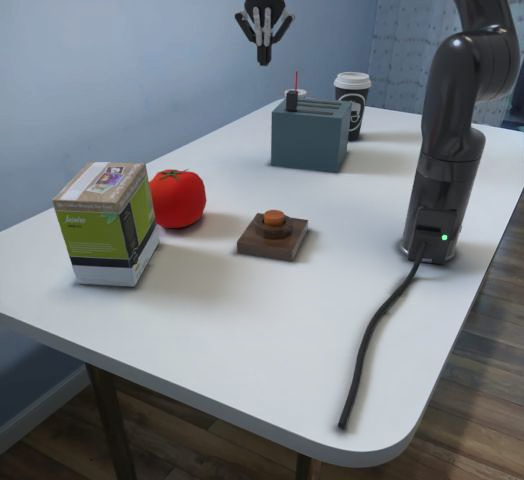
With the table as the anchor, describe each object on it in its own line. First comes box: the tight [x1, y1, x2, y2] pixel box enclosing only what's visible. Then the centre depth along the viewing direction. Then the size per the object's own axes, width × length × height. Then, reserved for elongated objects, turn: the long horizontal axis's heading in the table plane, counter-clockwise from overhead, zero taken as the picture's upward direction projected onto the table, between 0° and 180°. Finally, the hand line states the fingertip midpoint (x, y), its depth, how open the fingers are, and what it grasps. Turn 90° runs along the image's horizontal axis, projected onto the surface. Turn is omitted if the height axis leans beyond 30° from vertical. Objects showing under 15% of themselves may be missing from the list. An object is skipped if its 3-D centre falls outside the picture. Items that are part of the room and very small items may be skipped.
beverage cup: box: [284, 70, 308, 98], centre depth 137 cm, size 6×6×14 cm
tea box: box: [51, 160, 160, 288], centre depth 80 cm, size 15×10×15 cm, turn 174°
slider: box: [285, 89, 298, 111], centre depth 111 cm, size 3×2×4 cm
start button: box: [263, 209, 285, 227], centre depth 87 cm, size 4×4×2 cm
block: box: [236, 212, 309, 262], centre depth 89 cm, size 12×10×4 cm
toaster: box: [270, 97, 352, 174], centre depth 118 cm, size 14×16×12 cm
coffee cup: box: [333, 71, 372, 142], centre depth 130 cm, size 10×10×15 cm
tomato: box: [149, 168, 207, 229], centre depth 93 cm, size 11×13×10 cm
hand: (264, 65), depth 108 cm, fingers closed
